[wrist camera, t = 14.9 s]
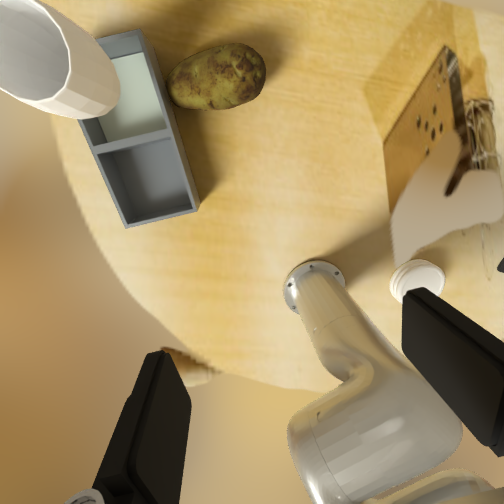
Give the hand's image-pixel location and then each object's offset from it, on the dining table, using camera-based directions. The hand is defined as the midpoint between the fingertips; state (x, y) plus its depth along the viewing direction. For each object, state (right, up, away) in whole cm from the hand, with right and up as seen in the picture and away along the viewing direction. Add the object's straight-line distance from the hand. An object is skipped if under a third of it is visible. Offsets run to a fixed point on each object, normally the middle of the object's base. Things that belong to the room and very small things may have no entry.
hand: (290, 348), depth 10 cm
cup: (-19, +25, +26) cm, 41 cm away
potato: (-7, +28, +27) cm, 40 cm away
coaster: (+32, -2, +44) cm, 55 cm away
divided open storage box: (-18, +21, +29) cm, 40 cm away
